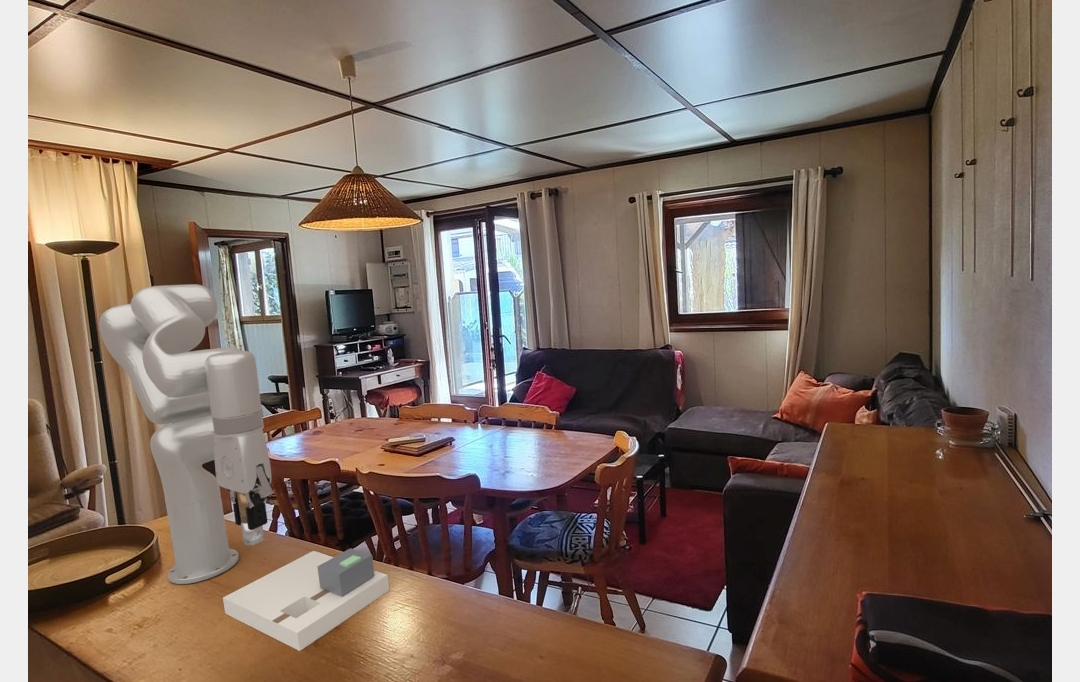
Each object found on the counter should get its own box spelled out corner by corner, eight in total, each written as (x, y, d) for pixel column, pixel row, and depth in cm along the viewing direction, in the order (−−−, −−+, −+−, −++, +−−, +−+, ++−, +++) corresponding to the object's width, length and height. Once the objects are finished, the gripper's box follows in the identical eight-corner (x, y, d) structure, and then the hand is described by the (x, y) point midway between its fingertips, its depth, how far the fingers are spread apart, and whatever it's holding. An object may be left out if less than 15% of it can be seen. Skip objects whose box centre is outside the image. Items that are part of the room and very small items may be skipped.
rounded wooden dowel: (240, 542, 95) (232, 488, 93) (257, 534, 97) (250, 482, 96) (250, 546, 93) (242, 491, 92) (267, 538, 96) (260, 484, 94)
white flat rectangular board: (225, 613, 95) (222, 597, 95) (315, 564, 110) (313, 550, 110) (299, 651, 83) (297, 632, 83) (389, 590, 98) (387, 574, 98)
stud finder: (320, 587, 95) (317, 564, 94) (353, 568, 101) (350, 546, 100) (342, 596, 91) (338, 571, 91) (374, 575, 97) (371, 552, 97)
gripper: (191, 424, 94) (205, 523, 96) (242, 434, 85) (257, 544, 87) (234, 413, 100) (247, 507, 102) (286, 422, 91) (299, 524, 93)
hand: (251, 523), depth 95 cm, fingers closed on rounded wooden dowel, 3 cm apart
